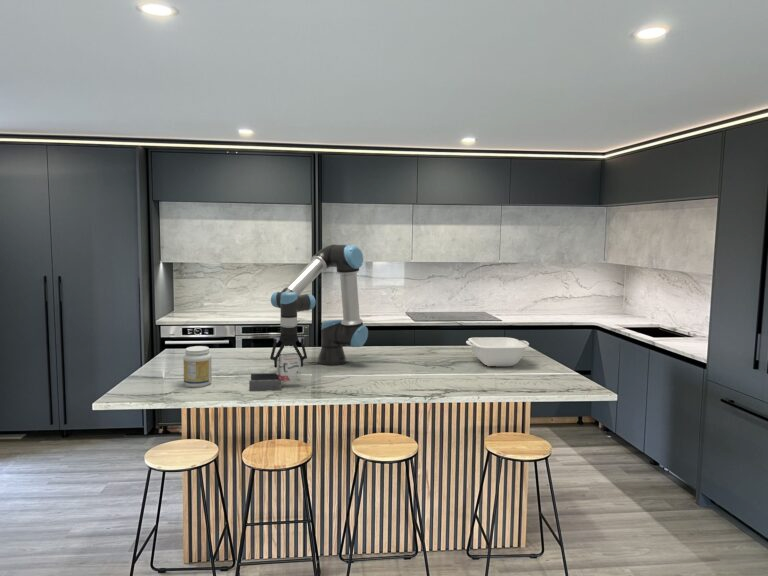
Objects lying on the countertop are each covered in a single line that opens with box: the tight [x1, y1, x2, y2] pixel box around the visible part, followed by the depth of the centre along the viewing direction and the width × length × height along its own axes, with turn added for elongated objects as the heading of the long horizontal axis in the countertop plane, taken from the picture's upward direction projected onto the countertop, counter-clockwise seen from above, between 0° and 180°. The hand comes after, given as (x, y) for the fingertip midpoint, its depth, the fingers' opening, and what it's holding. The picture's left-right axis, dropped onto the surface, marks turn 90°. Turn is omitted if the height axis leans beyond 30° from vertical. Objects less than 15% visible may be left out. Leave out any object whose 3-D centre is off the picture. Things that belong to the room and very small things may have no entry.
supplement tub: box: [183, 345, 213, 388], centre depth 264 cm, size 12×12×17 cm
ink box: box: [278, 352, 300, 382], centre depth 264 cm, size 9×5×12 cm, turn 118°
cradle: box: [248, 372, 282, 392], centre depth 263 cm, size 14×14×4 cm
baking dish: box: [465, 336, 530, 367], centre depth 315 cm, size 34×28×13 cm
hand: (288, 374), depth 264 cm, fingers closed on ink box, 9 cm apart
